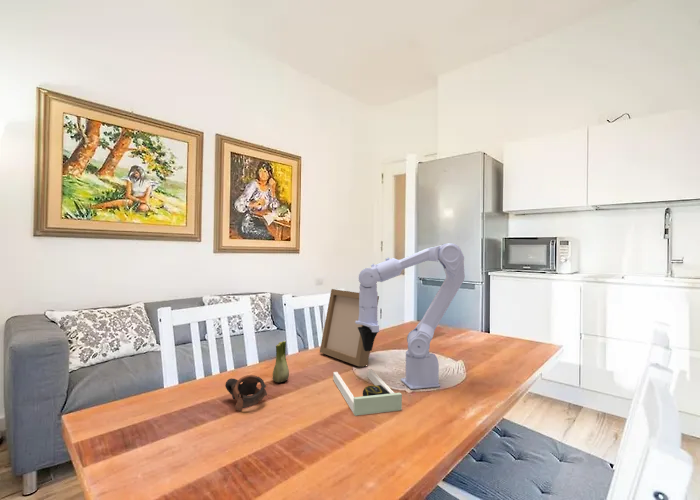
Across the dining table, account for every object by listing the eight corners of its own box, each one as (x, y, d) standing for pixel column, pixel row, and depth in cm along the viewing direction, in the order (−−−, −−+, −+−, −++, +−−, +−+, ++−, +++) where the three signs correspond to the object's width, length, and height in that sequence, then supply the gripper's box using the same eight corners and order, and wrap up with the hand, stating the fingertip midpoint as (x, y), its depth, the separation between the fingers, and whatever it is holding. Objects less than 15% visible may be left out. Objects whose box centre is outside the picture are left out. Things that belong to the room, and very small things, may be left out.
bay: (371, 376, 113) (371, 364, 113) (401, 410, 90) (401, 394, 90) (333, 380, 110) (333, 367, 110) (354, 415, 86) (354, 399, 86)
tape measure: (392, 407, 92) (392, 392, 92) (367, 410, 90) (367, 395, 90) (382, 396, 98) (382, 383, 98) (359, 399, 96) (359, 385, 96)
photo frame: (358, 369, 120) (359, 295, 120) (319, 354, 136) (320, 289, 136) (387, 360, 130) (388, 292, 130) (348, 347, 146) (348, 287, 146)
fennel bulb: (283, 376, 112) (283, 339, 112) (293, 380, 109) (293, 341, 109) (268, 381, 108) (268, 342, 108) (278, 386, 105) (279, 345, 105)
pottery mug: (272, 397, 98) (274, 377, 94) (255, 427, 90) (255, 406, 86) (233, 383, 100) (233, 362, 96) (213, 411, 92) (212, 390, 88)
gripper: (349, 303, 115) (349, 345, 116) (362, 311, 101) (362, 358, 102) (370, 302, 117) (369, 343, 117) (385, 310, 103) (385, 356, 103)
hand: (367, 350), depth 110 cm, fingers closed
